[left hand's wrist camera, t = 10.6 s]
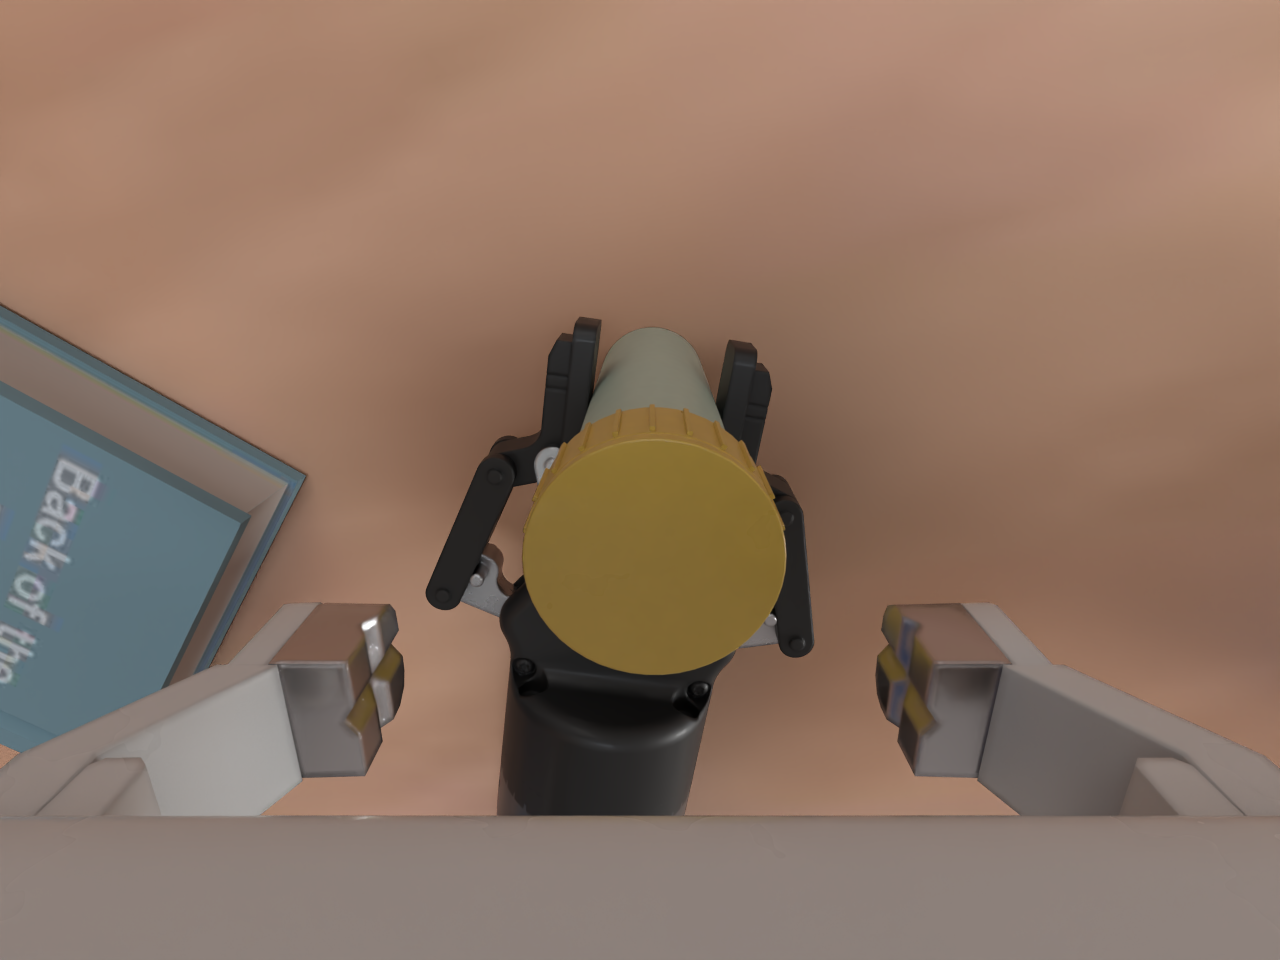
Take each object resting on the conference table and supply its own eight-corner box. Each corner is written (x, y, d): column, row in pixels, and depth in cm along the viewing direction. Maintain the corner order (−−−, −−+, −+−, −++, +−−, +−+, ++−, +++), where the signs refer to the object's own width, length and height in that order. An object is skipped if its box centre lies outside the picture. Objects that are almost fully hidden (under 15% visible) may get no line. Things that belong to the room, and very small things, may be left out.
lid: (785, 409, 14) (809, 442, 12) (757, 623, 16) (773, 685, 14) (536, 395, 14) (516, 426, 12) (537, 612, 16) (519, 671, 14)
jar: (707, 330, 27) (774, 457, 12) (698, 430, 29) (749, 651, 14) (602, 324, 27) (545, 445, 12) (599, 424, 29) (545, 640, 14)
